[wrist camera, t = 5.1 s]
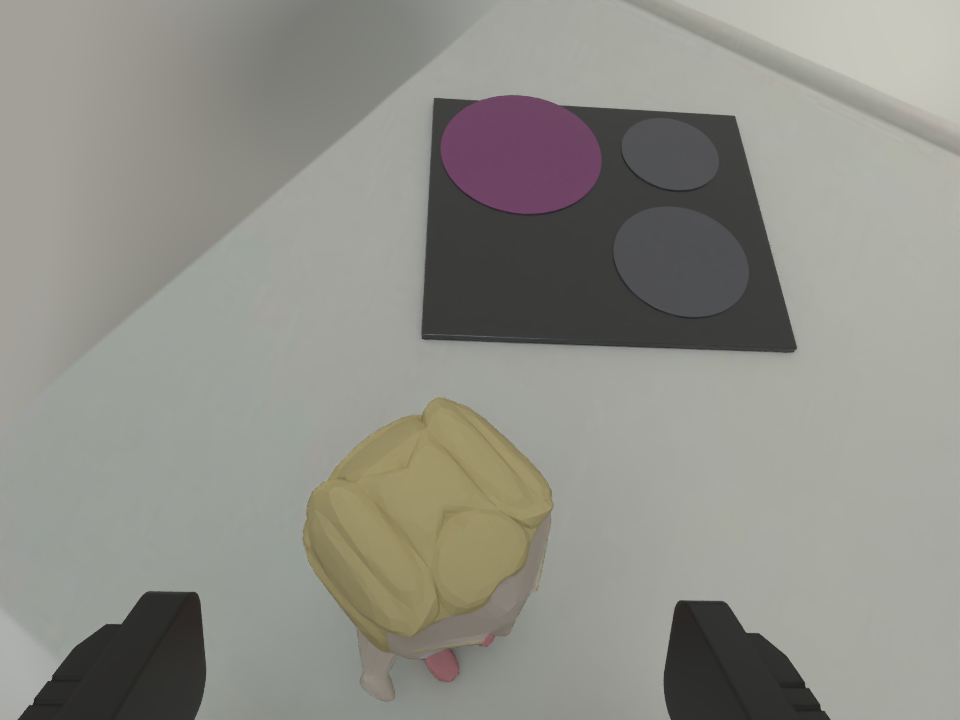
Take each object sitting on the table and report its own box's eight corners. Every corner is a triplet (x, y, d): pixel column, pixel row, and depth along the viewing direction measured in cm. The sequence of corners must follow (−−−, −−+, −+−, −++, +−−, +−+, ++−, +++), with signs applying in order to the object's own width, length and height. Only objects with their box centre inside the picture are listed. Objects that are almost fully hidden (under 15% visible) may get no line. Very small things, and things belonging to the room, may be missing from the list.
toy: (404, 734, 22) (368, 773, 9) (324, 624, 24) (196, 524, 11) (539, 601, 25) (663, 484, 12) (459, 509, 26) (489, 313, 13)
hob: (421, 339, 30) (421, 333, 30) (434, 97, 38) (434, 90, 37) (793, 352, 31) (798, 347, 31) (730, 115, 39) (734, 108, 38)
